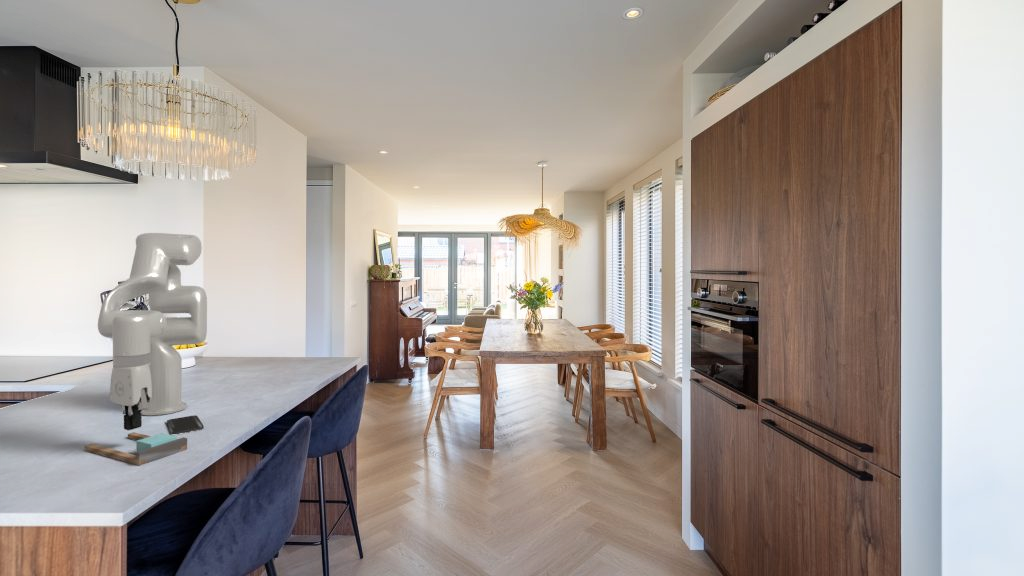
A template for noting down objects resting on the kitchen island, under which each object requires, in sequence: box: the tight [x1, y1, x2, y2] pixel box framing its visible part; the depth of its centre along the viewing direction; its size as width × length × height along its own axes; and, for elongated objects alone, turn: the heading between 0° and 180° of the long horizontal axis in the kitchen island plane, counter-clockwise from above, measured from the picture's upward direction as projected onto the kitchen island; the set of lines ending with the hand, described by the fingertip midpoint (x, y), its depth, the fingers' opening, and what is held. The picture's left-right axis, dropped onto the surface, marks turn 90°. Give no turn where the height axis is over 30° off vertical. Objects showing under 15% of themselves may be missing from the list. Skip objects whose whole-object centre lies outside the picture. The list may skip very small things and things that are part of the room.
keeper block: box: [135, 432, 178, 453], centre depth 113 cm, size 6×6×4 cm
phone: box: [166, 414, 205, 435], centre depth 134 cm, size 8×1×15 cm
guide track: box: [84, 432, 188, 467], centre depth 115 cm, size 23×11×3 cm, turn 69°
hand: (132, 428), depth 117 cm, fingers closed
